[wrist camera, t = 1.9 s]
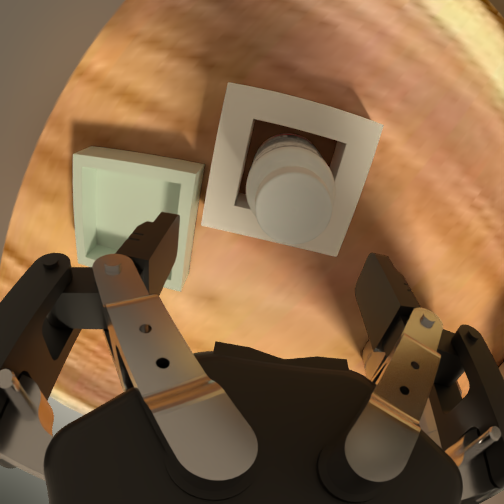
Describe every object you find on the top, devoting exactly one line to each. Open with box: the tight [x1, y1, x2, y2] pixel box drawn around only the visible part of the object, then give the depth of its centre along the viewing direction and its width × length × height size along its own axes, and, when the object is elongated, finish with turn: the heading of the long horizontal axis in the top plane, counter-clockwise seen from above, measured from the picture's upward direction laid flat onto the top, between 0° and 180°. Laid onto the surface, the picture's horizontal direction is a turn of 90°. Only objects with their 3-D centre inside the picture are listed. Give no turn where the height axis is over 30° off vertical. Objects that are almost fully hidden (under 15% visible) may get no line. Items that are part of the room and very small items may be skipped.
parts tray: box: [73, 146, 205, 292], centre depth 25 cm, size 11×11×3 cm
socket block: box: [201, 82, 384, 257], centre depth 22 cm, size 11×11×3 cm
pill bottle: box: [246, 133, 336, 244], centre depth 19 cm, size 5×5×10 cm
